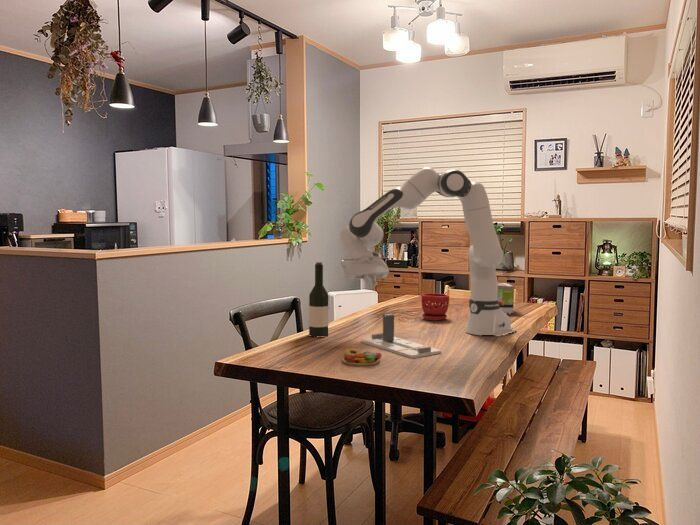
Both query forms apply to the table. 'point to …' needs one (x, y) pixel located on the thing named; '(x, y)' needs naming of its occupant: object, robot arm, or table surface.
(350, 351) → the toy food set
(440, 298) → the plant pot
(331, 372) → the table surface
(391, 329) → the fader tab
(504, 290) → the tea box
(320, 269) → the wine bottle
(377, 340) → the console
